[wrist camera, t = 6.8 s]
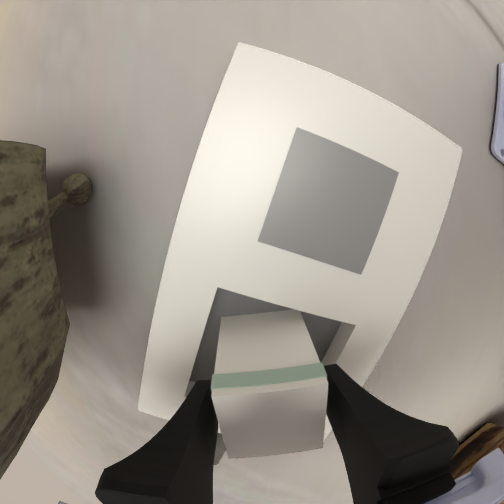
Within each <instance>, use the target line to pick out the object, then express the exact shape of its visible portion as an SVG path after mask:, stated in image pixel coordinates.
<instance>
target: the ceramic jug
mask: <svg viewBox="0 0 504 504" xmlns="http://www.w3.org/2000/svg"><path fill="white" fill-rule="evenodd" d="M497 448H500V450H501V451H502V452H503V454H504V426H498V425H496V424H494V423H487V424H485V425H484V426H483V427H482V428H481V429H480V430H478V431H477V432H476V433H475V434H473V435H472V436H471V437H470V438H468V439H467V440H466V441H465V442H464V443H463V444H461V445H460V446H459V447H458V449H457V451H456V453H455V454H454V456H453V457H452V459H451V461H450V462H449V464H450V466H451V468H452V470H451V471H450V473H451V475H452V477H453V479H454V480H455V479H457V478H459V477H461V476H462V475H464V474H466V473H468V472H469V471H471V470H472V468H473V466H474V465H475V464H476V463H477V462H478V461H479V460H480V459H482V458H483V457H484V456H486V455H488V454H489V453H491V452H492V451H494V450H495V449H497ZM500 504H504V500H503V501H502V502H501V503H500Z"/></svg>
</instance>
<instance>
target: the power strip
mask: <svg viewBox="0 0 504 504" xmlns="http://www.w3.org/2000/svg"><path fill="white" fill-rule="evenodd" d="M462 151H463V149H462V148H461V147H459V146H458V145H457V144H455V143H454V142H453V141H451V140H450V139H448V138H447V137H446V136H444V135H443V134H441V133H440V132H438V131H437V130H435V129H434V128H432V127H431V126H429V125H428V124H426V123H425V122H423V121H421V120H420V119H418V118H417V117H415V116H413V115H412V114H410V113H408V112H407V111H405V110H403V109H402V108H400V107H398V106H396V105H395V104H393V103H391V102H389V101H387V100H385V99H384V98H382V97H380V96H378V95H376V94H374V93H372V92H370V91H368V90H366V89H364V88H362V87H360V86H358V85H356V84H354V83H352V82H349V81H347V80H345V79H343V78H341V77H338V76H336V75H334V74H331V73H329V72H327V71H324V70H322V69H319V68H317V67H314V66H312V65H309V64H306V63H304V62H301V61H298V60H295V59H293V58H290V57H287V56H284V55H281V54H278V53H275V52H272V51H268V50H265V49H262V48H258V47H255V46H251V45H247V44H244V43H240V42H239V43H238V45H237V48H236V50H235V52H234V55H233V57H232V59H231V62H230V64H229V67H228V69H227V72H226V74H225V77H224V79H223V82H222V84H221V87H220V89H219V92H218V94H217V97H216V100H215V102H214V105H213V108H212V110H211V113H210V116H209V119H208V121H207V124H206V127H205V130H204V133H203V136H202V139H201V142H200V144H199V147H198V150H197V153H196V156H195V160H194V163H193V166H192V169H191V172H190V175H189V178H188V182H187V185H186V188H185V192H184V195H183V198H182V202H181V205H180V209H179V212H178V216H177V219H176V223H175V227H174V230H173V234H172V238H171V242H170V246H169V249H168V253H167V257H166V261H165V266H164V270H163V274H162V278H161V283H160V287H159V291H158V296H157V300H156V305H155V310H154V315H153V320H152V325H151V330H150V335H149V340H148V346H147V351H146V357H145V363H144V369H143V375H142V382H141V389H140V396H139V403H138V411H141V412H144V413H147V414H150V415H153V416H156V417H160V418H163V419H166V420H170V419H171V418H172V416H173V415H174V414H175V413H176V411H177V410H178V409H179V407H180V406H181V404H182V403H183V402H184V400H185V399H186V397H187V395H188V394H189V392H190V391H191V389H192V387H193V386H194V384H195V382H196V381H197V380H211V381H212V374H214V370H215V362H216V354H217V347H218V339H219V331H220V324H221V317H227V316H238V315H248V314H257V313H267V312H276V311H284V310H292V309H295V310H299V311H300V312H301V315H302V317H303V320H304V322H305V325H306V327H307V330H308V333H309V335H310V338H311V340H312V343H313V345H314V348H315V350H316V353H317V355H318V358H319V360H320V363H321V362H322V364H323V366H326V365H331V364H337V365H338V366H339V367H340V368H341V369H342V370H344V371H345V372H346V373H347V374H348V375H349V376H350V377H351V378H352V379H353V380H354V381H355V382H356V383H358V384H359V385H360V386H361V387H362V386H363V385H364V383H365V382H366V380H367V378H368V377H369V375H370V374H371V372H372V370H373V369H374V367H375V365H376V364H377V362H378V360H379V359H380V357H381V355H382V354H383V352H384V350H385V348H386V347H387V345H388V343H389V341H390V339H391V338H392V336H393V334H394V332H395V330H396V328H397V326H398V324H399V322H400V321H401V319H402V317H403V315H404V313H405V311H406V309H407V307H408V304H409V302H410V300H411V298H412V296H413V294H414V292H415V290H416V287H417V285H418V283H419V281H420V278H421V276H422V274H423V271H424V269H425V267H426V264H427V262H428V259H429V257H430V254H431V252H432V249H433V247H434V244H435V241H436V239H437V236H438V233H439V230H440V227H441V225H442V222H443V219H444V216H445V213H446V210H447V206H448V203H449V200H450V197H451V193H452V190H453V186H454V183H455V179H456V175H457V172H458V168H459V164H460V159H461V155H462ZM331 430H332V427H331V424H330V422H329V419H328V417H327V414H326V420H325V431H324V439H325V438H326V437H327V436H328V434H329V433H330V432H331ZM323 441H324V440H323ZM225 450H226V447H225V444H224V440H223V437H222V434H221V430H220V427H219V423H218V435H217V443H216V450H215V457H214V464H213V465H216V464H218V463H219V461H220V459H221V458H222V456H223V454H224V452H225Z"/></svg>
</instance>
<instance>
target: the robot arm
mask: <svg viewBox="0 0 504 504" xmlns="http://www.w3.org/2000/svg"><path fill="white" fill-rule="evenodd" d="M491 151H492V153H493V155H494V156H495V157H496V158H497V159H498V160H500V161H501V162H502V163H503V164H504V63H500V64H499V77H498V95H497V106H496V116H495V124H494V131H493V137H492V143H491ZM324 369H325V371H326V374H327V381H328V396H327V409H326V414H327V417H328V419H329V422H330V424H331V427H332V429H333V432H334V434H335V437H336V439H337V442H338V444H339V447H340V449H341V452H342V455H343V459H344V462H345V466H346V470H347V474H348V479H349V483H350V487H351V492H352V497H353V502H354V504H500V503H501V502H502V501H503V500H504V454H503V452H502V451H501V450H500V448H497V449H495V450H494V451H492V452H491V453H489V454H488V455H486V456H484V457H483V458H482V459H480V460H479V461H478V462H477V463H476V464H475V465H474V466H473V468H472V470H471V471H469V472H468V473H466V474H464V475H462V476H461V477H459V478H457V479H455V480H454V479H453V477H452V475H451V473H450V471H451V470H452V468H451V466H450V464H449V462H450V461H451V459H452V457H453V456H454V454H455V453H456V451H457V449H458V446H459V442H458V440H457V439H456V437H455V436H454V434H453V433H452V431H451V430H450V429H449V428H448V427H446V426H441V425H437V424H432V423H428V422H425V421H422V420H419V419H416V418H413V417H410V416H408V415H406V414H404V413H401V412H399V411H397V410H395V409H393V408H391V407H390V406H388V405H386V404H384V403H383V402H381V401H380V400H378V399H377V398H375V397H374V396H373V395H371V394H370V393H369V392H367V391H366V390H365V389H364V388H362V387H361V386H360V385H359V384H358V383H356V382H355V381H354V380H353V379H352V378H351V377H350V376H349V375H348V374H347V373H346V372H345V371H344V370H342V369H341V368H340V367H339V366H338V365H337V364H331V365H326V366H324ZM211 395H212V392H211V380H197V381H196V382H195V384H194V386H193V387H192V389H191V391H190V392H189V394H188V395H187V397H186V399H185V400H184V402H183V403H182V404H181V406H180V407H179V409H178V410H177V411H176V413H175V414H174V415H173V416H172V418H171V419H170V420H169V421H168V423H167V424H166V425H165V426H164V427H163V428H162V429H161V430H160V431H159V432H158V433H157V434H156V435H155V436H154V437H153V438H152V439H151V440H150V441H149V442H147V443H146V444H145V445H144V446H142V447H141V448H140V449H139V450H137V451H136V452H134V453H133V454H131V455H130V456H128V457H126V458H125V459H123V460H121V461H119V462H118V463H116V464H114V465H112V466H110V467H108V468H105V469H104V471H103V473H102V475H101V477H100V480H99V483H98V486H97V488H96V491H95V494H96V497H97V498H98V499H99V500H100V501H101V502H102V503H103V504H213V464H214V457H215V450H216V443H217V435H218V419H217V416H216V412H215V408H214V405H213V401H212V397H211ZM58 504H67V503H64V502H61V501H60V502H59V503H58Z"/></svg>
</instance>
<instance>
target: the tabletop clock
mask: <svg viewBox="0 0 504 504" xmlns="http://www.w3.org/2000/svg"><path fill="white" fill-rule="evenodd" d="M91 190H92V189H91V184H90V180H89V179H88V178H87V177H86V176H85V175H84V174H79V173H74V174H73V175H71V176H69V177H68V178H66V179H65V181H64V183H63V187H62V193H61V194H59V195H57V196H56V197H54V198H52V199H50V200H49V201H48V199H47V183H46V149H44V148H42V147H39V146H37V145H33V144H27V143H20V142H13V141H1V140H0V479H1V477H2V476H3V474H4V473H5V471H6V470H7V468H8V467H9V465H10V464H11V462H12V461H13V459H14V458H15V456H16V455H17V453H18V451H19V449H20V447H21V446H22V444H23V442H24V440H25V438H26V437H27V435H28V433H29V431H30V430H31V428H32V426H33V424H34V423H35V421H36V419H37V418H38V416H39V414H40V413H41V411H42V409H43V408H44V406H45V405H46V403H47V401H48V400H49V398H50V396H51V394H52V391H53V389H54V387H55V385H56V383H57V380H58V377H59V372H60V367H61V362H62V357H63V352H64V347H65V342H66V338H67V334H68V329H69V325H70V323H69V319H68V316H67V312H66V308H65V304H64V300H63V296H62V291H61V287H60V282H59V278H58V272H57V267H56V262H55V256H54V250H53V243H52V236H51V229H50V220H49V218H50V217H51V216H52V215H53V214H54V213H55V212H56V211H57V210H58V209H60V208H61V207H62V206H63V205H64V204H65V203H66V202H68V203H69V204H72V205H80V204H81V203H83V202H85V201H86V200H88V198H89V195H90V192H91Z"/></svg>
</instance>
